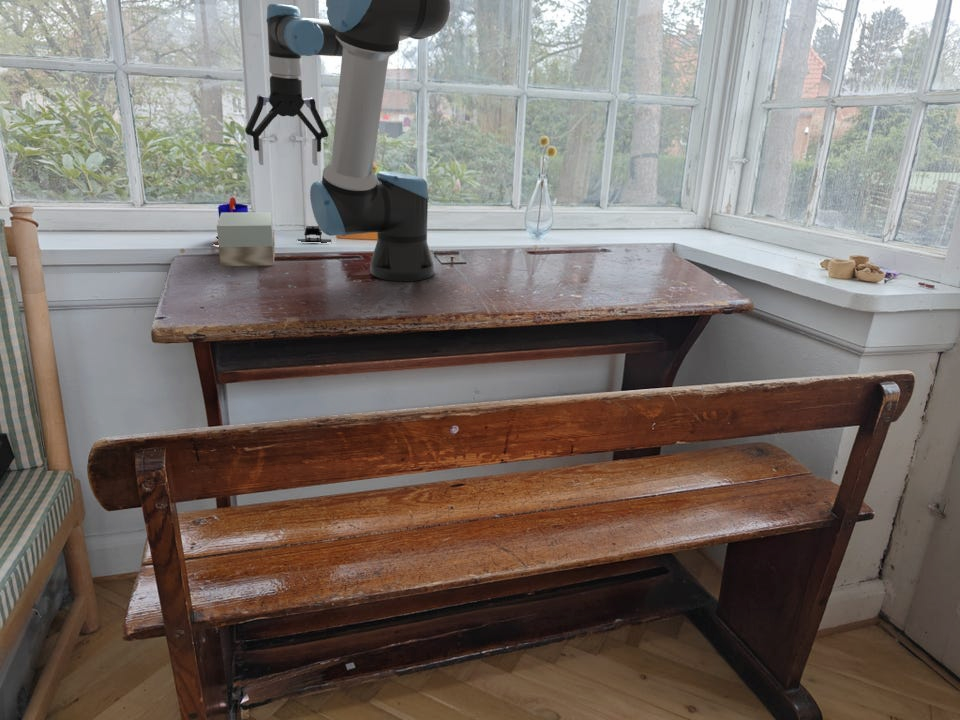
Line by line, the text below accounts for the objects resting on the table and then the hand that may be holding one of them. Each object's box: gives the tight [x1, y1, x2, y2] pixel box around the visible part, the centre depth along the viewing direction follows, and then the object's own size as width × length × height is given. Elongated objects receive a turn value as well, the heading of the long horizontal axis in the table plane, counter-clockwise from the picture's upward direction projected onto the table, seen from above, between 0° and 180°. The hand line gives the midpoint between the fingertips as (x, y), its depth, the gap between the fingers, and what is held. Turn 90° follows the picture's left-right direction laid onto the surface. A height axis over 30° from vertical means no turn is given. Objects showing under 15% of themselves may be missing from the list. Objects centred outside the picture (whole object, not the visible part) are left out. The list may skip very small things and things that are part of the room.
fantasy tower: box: [213, 196, 249, 245], centre depth 175 cm, size 12×12×12 cm
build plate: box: [296, 225, 332, 243], centre depth 181 cm, size 12×7×5 cm, turn 100°
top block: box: [216, 211, 274, 248], centre depth 161 cm, size 12×15×5 cm
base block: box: [218, 231, 276, 267], centre depth 163 cm, size 12×15×5 cm
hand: (288, 164), depth 171 cm, fingers open, 13 cm apart
